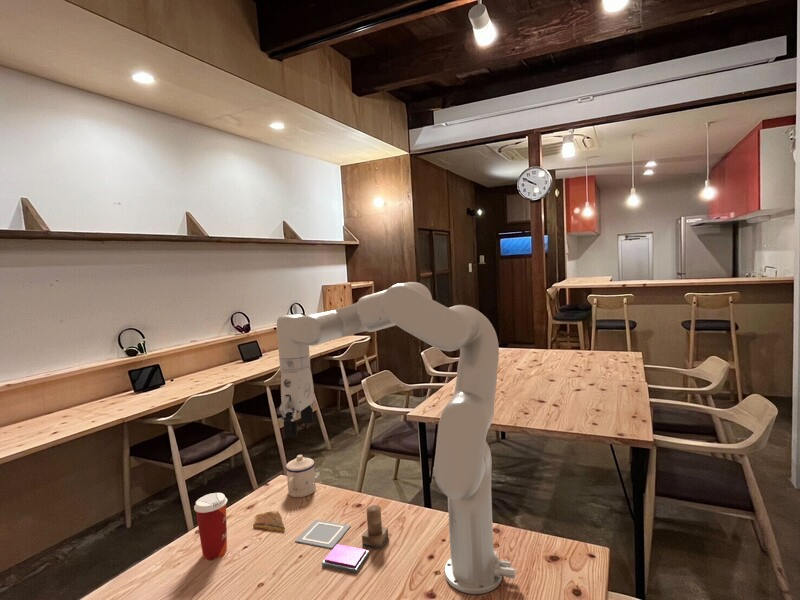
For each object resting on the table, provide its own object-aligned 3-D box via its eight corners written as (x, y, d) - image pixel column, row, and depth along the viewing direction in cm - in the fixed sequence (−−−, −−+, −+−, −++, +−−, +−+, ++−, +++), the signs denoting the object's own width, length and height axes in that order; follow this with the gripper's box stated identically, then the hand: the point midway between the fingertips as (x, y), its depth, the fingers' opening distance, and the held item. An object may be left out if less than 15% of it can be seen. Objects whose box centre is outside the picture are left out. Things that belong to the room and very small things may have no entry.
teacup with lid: (296, 483, 146) (293, 449, 145) (321, 485, 143) (318, 450, 143) (277, 501, 134) (274, 465, 133) (304, 504, 132) (301, 466, 131)
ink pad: (369, 554, 106) (368, 548, 106) (356, 573, 99) (355, 567, 99) (336, 548, 109) (336, 542, 109) (322, 566, 102) (321, 560, 102)
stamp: (388, 538, 112) (386, 505, 112) (380, 550, 107) (378, 515, 107) (370, 535, 114) (368, 502, 113) (362, 546, 109) (360, 512, 109)
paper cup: (236, 551, 110) (232, 497, 110) (206, 567, 105) (201, 510, 104) (222, 539, 116) (218, 488, 115) (193, 554, 110) (188, 500, 109)
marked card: (350, 526, 118) (350, 525, 118) (332, 548, 109) (332, 547, 109) (315, 520, 122) (315, 519, 122) (295, 541, 113) (294, 540, 113)
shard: (285, 533, 118) (284, 527, 117) (255, 542, 114) (255, 535, 114) (279, 514, 127) (278, 508, 127) (251, 522, 124) (251, 515, 124)
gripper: (293, 370, 101) (298, 443, 102) (321, 356, 118) (325, 418, 119) (264, 371, 102) (269, 442, 103) (295, 357, 119) (300, 418, 120)
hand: (299, 429), depth 111 cm, fingers open, 9 cm apart
